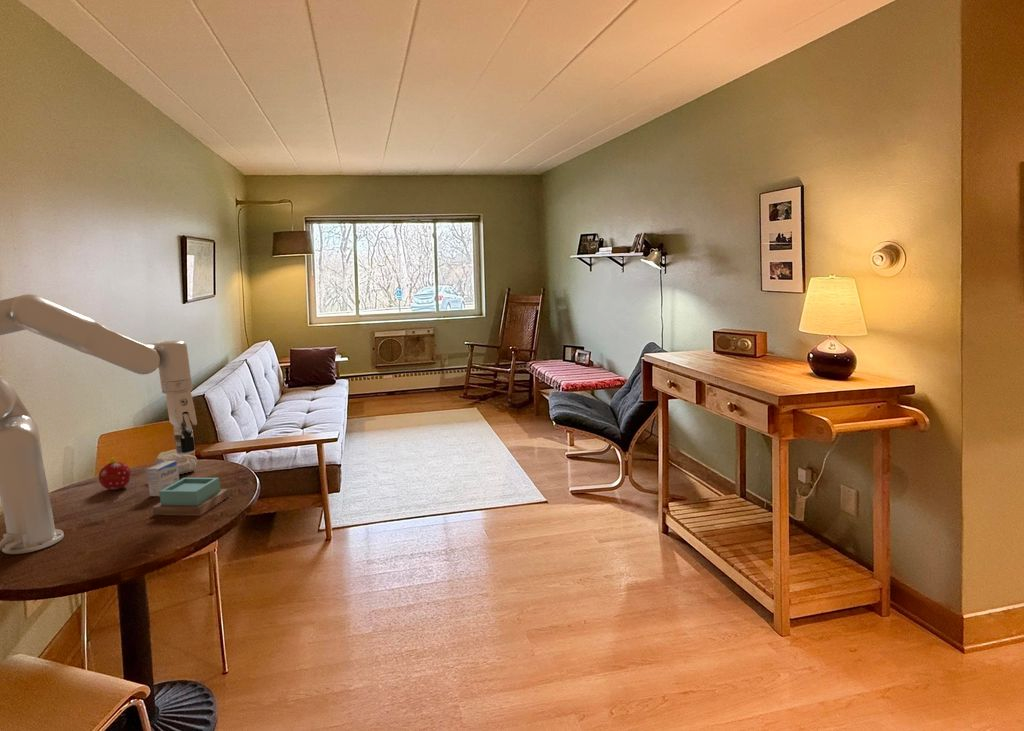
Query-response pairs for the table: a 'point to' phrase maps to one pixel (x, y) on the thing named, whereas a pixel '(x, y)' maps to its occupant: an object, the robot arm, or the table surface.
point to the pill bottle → (178, 443)
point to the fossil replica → (178, 460)
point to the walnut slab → (191, 506)
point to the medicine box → (162, 476)
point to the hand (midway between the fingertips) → (185, 448)
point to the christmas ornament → (114, 475)
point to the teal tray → (189, 491)
